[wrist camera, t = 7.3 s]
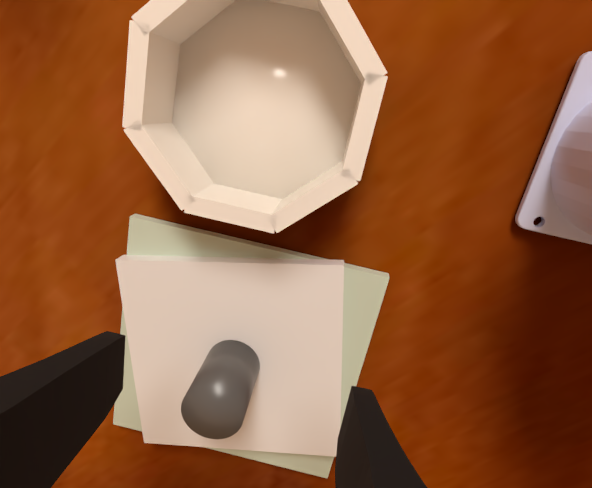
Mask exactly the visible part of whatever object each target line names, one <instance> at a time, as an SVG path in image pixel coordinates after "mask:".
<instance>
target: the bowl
mask: <svg viewBox="0 0 592 488" xmlns="http://www.w3.org/2000/svg"><path fill="white" fill-rule="evenodd" d="M132 19H133V20H134V21H132V20H130V25H129V39H128V53H127V68H126V82H125V97H124V111H123V125H122V127H125V128H126V129H124V132H125V133H126V135H127V136H128V137H129V139H130V140H131V142H132V143H133V144H134V146H135V147H136V148H137V150H138V151H139V153H140V154H141V155H142V157H143V158H144V160H145V161H146V162H147V164H148V165H149V167H150V168H151V169H152V171H153V172H154V173H155V175H156V176H157V178H158V179H159V180H160V182H161V183H162V185H163V186H164V187H165V189H166V190H167V192H168V193H169V194H170V196H171V197H172V198H173V200H174V201H175V203H176V204H177V205H178V207H179V208H180V210H181V211H182V210H184V213H188V214H192V215H196V216H201V217H205V218H209V219H213V220H218V221H222V222H226V223H231V224H235V225H239V226H243V227H248V228H252V229H256V230H260V231H265V232H269V233H273V234H274V233H275V231H276V233H278V232H280V231H281V230H283V229H285V228H286V227H288V226H290V225H291V224H293V223H295V222H296V221H298V220H300V219H301V218H303V217H305V216H306V215H308V214H309V213H311V212H313V211H314V210H316V209H318V208H319V207H321V206H323V205H324V204H326V203H328V202H329V201H331V200H333V199H334V198H336V197H337V196H339V195H341V194H342V193H344V192H346V191H347V190H349V189H351V188H352V187H354V186H356V185H357V184H358V181H360V180H361V177H362V173H363V169H364V165H365V161H366V158H367V154H368V150H369V146H370V142H371V139H372V135H373V131H374V127H375V123H376V120H377V116H378V112H379V108H380V104H381V100H382V97H383V93H384V89H385V85H386V81H387V78H388V76H384V75H385V74H386V73H387V71H386V69H385V68H384V66H383V64H382V62H381V60H380V59H379V57H378V55H377V53H376V51H375V50H374V48H373V46H372V44H371V42H370V40H369V39H368V37H367V35H366V33H365V31H364V30H363V28H362V26H361V24H360V22H359V21H358V19H357V17H356V15H355V13H354V12H353V10H352V8H351V6H350V4H349V3H348V1H347V0H150V1H149V2H148V3H147V4H146V5H145V6H143V7H142V8H141V9H140V10H139V11H138V12H136V13H135V14H134V15H133V16H132Z"/></svg>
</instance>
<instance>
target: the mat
mask: <svg viewBox="0 0 592 488" xmlns="http://www.w3.org/2000/svg"><path fill="white" fill-rule="evenodd" d="M127 255H150V256H194V257H238V258H282V259H326V258H321V257H317V256H313V255H309V254H304V253H300V252H296V251H292V250H287V249H283V248H279V247H275V246H270V245H266V244H262V243H258V242H253V241H249V240H245V239H241V238H236V237H232V236H228V235H224V234H219V233H215V232H211V231H207V230H202V229H198V228H194V227H190V226H185V225H181V224H177V223H173V222H168V221H164V220H160V219H156V218H151V217H147V216H143V215H139V214H134V215H132V216H130V221H129V233H128V245H127ZM326 260H330V259H326ZM389 278H390V277H389V273H385V272H381V271H377V270H372V269H368V268H364V267H360V266H355V265H351V264H347V263H344V292H343V336H342V380H341V424H342V420H343V416H344V413H345V409H346V405H347V401H348V398H349V394H350V390H351V386H356V385H357V381H358V378H359V375H360V372H361V369H362V365H363V362H364V359H365V356H366V352H367V349H368V346H369V343H370V339H371V336H372V333H373V330H374V327H375V323H376V320H377V317H378V314H379V310H380V307H381V304H382V301H383V298H384V294H385V291H386V288H387V285H388V281H389ZM120 334H121V335H126V336H125V356H124V377H123V390H122V391H121V393H120V395H119V397H118V398H117V400H116V402H115V406H114V418H113V424H114V425H118V426H122V427H126V428H130V429H134V430H138V431H142V426H141V420H140V413H139V407H138V401H137V394H136V388H135V382H134V375H133V369H132V362H131V356H130V350H129V343H128V337H127V331H126V324H125V318H124V312H123V307H122V320H121V332H120ZM341 424H340V428H341ZM205 448H209V447H205ZM209 449H213V450H217V451H221V452H225V453H228V454H232V455H236V456H240V457H244V458H248V459H252V460H256V461H260V462H264V463H268V464H272V465H276V466H280V467H284V468H287V469H291V470H295V471H299V472H303V473H307V474H311V475H315V476H319V477H323V478H328V475H329V472H330V469H331V465H332V462H333V459H334V457H333V456H319V455H305V454H292V453H278V452H264V451H250V450H236V449H223V448H209Z"/></svg>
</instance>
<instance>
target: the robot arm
mask: <svg viewBox="0 0 592 488" xmlns="http://www.w3.org/2000/svg"><path fill="white" fill-rule="evenodd" d="M537 217H541V222H540V223H539V224H537V225H534V224H533V222H534V220H535V218H537ZM515 221H516V224H517V225H518V226H519V227H521V228H523V229H526V230H531V231H535V232H539V233H544V234H548V235H553V236H557V237H561V238H566V239H570V240H574V241H579V242H583V243H587V244H592V51H590V52H587V53H584V54H583V55H582V56H580V57H579V59H578V60H577V62H576V65H575V67H574V70H573V72H572V75H571V77H570V80H569V82H568V85H567V87H566V90H565V92H564V95H563V98H562V100H561V103H560V105H559V108H558V110H557V113H556V115H555V118H554V120H553V123H552V125H551V128H550V130H549V133H548V135H547V138H546V140H545V143H544V145H543V148H542V150H541V153H540V155H539V158H538V160H537V163H536V165H535V168H534V170H533V173H532V176H531V178H530V181H529V183H528V186H527V188H526V191H525V193H524V196H523V198H522V201H521V203H520V206H519V208H518V211H517V213H516V216H515ZM125 336H126V335H121V334H117V333H112V332H108V331H107V332H104V333H101V334H99V335H97V336H94V337H92V338H90V339H88V340H85V341H83V342H81V343H79V344H77V345H74V346H72V347H70V348H68V349H66V350H63V351H61V352H59V353H57V354H55V355H52V356H50V357H48V358H46V359H43V360H41V361H38V362H36V363H34V364H31V365H29V366H26V367H24V368H21V369H19V370H16V371H14V372H11V373H9V374H6V375H4V376H1V377H0V488H51V487H52V485H53V484H54V483H55V481H56V480H57V479H58V478H59V476H60V475H61V474H62V473H63V471H64V470H65V469H66V467H67V466H68V465H69V464H70V462H71V461H72V460H73V459H74V457H75V456H76V455H77V454H78V452H79V451H80V450H81V449H82V447H83V446H84V445H85V444H86V442H87V441H88V440H89V439H90V437H91V436H92V435H93V433H94V432H95V431H96V430H97V428H98V427H99V426H100V424H101V423H102V422H103V420H104V419H105V418H106V416H107V415H108V413H109V411H110V410H111V408H112V407H113V405H114V403H115V402H116V400H117V398H118V397H119V395H120V393H121V391H122V390H123V377H124V356H125ZM335 483H336V488H427V487H426V485H425V484H424V483H423V481H422V480H421V478H420V477H419V475H418V474H417V472H416V471H415V469H414V467H413V466H412V464H411V463H410V461H409V460H408V458H407V456H406V455H405V453H404V451H403V450H402V448H401V446H400V444H399V442H398V441H397V439H396V437H395V435H394V433H393V432H392V430H391V428H390V426H389V424H388V422H387V420H386V418H385V416H384V414H383V412H382V410H381V408H380V406H379V404H378V402H377V399H376V397H375V395H374V393H373V392H372V390H369V389H365V388H360V387H356V386H351V390H350V394H349V398H348V401H347V405H346V409H345V413H344V416H343V420H342V424H341V428H340V431H339V435H338V441H337V453H336V467H335Z"/></svg>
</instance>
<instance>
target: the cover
mask: <svg viewBox="0 0 592 488" xmlns="http://www.w3.org/2000/svg"><path fill="white" fill-rule="evenodd" d="M115 261H116V267H117V273H118V280H119V286H120V292H121V299H122V305H123V312H124V318H125V324H126V331H127V337H128V343H129V350H130V356H131V362H132V369H133V375H134V382H135V388H136V394H137V401H138V407H139V413H140V420H141V426H142V433H143V439H144V443H153V444H167V445H181V446H195V447H209V448H223V449H236V450H250V451H264V452H278V453H292V454H305V455H319V456H333V457H336V453H337V441H338V435H339V431H340V424H341V380H342V336H343V292H344V260H326V259H282V258H238V257H194V256H150V255H122V256H121V257H119V258H117V259H116V260H115Z"/></svg>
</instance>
